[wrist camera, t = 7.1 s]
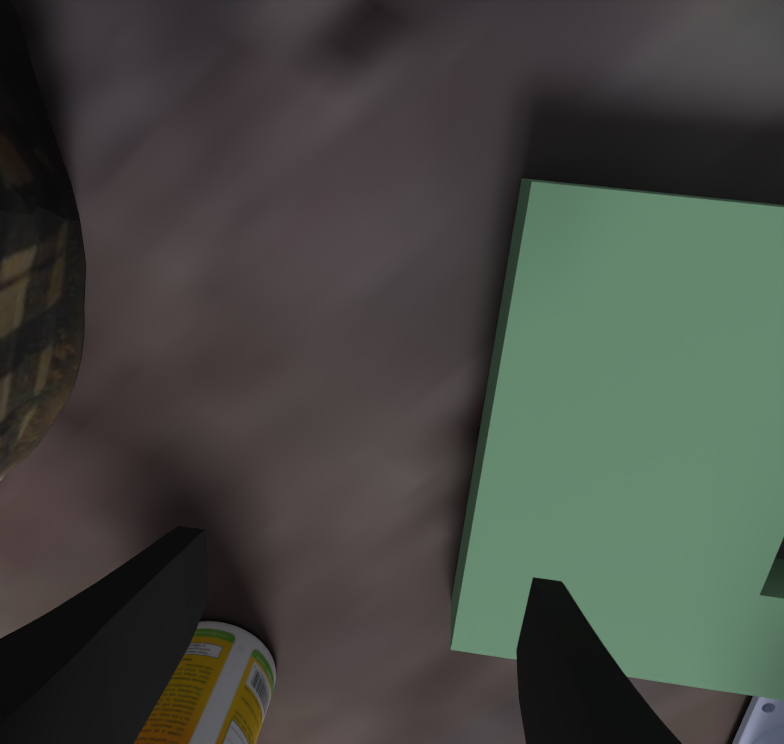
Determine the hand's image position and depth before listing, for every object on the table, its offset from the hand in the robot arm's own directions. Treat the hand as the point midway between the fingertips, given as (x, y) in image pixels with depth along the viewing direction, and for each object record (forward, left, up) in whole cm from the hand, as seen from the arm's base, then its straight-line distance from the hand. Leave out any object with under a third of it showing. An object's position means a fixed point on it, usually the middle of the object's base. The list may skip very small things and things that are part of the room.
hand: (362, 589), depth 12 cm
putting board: (0, -14, -9) cm, 17 cm away
